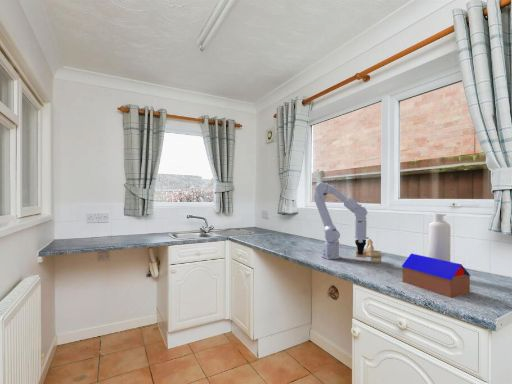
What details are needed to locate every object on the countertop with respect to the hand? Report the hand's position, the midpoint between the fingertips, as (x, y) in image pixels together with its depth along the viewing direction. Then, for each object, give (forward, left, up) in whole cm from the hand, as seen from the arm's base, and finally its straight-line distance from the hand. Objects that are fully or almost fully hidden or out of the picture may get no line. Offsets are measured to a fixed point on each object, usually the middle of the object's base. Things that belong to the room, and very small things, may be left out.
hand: (360, 253), depth 154 cm
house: (-2, -45, -4) cm, 45 cm away
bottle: (+14, -35, -4) cm, 38 cm away
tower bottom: (+6, -5, -4) cm, 9 cm away
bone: (+17, +12, -5) cm, 21 cm away
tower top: (+6, -5, -1) cm, 8 cm away
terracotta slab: (0, 0, -2) cm, 2 cm away
